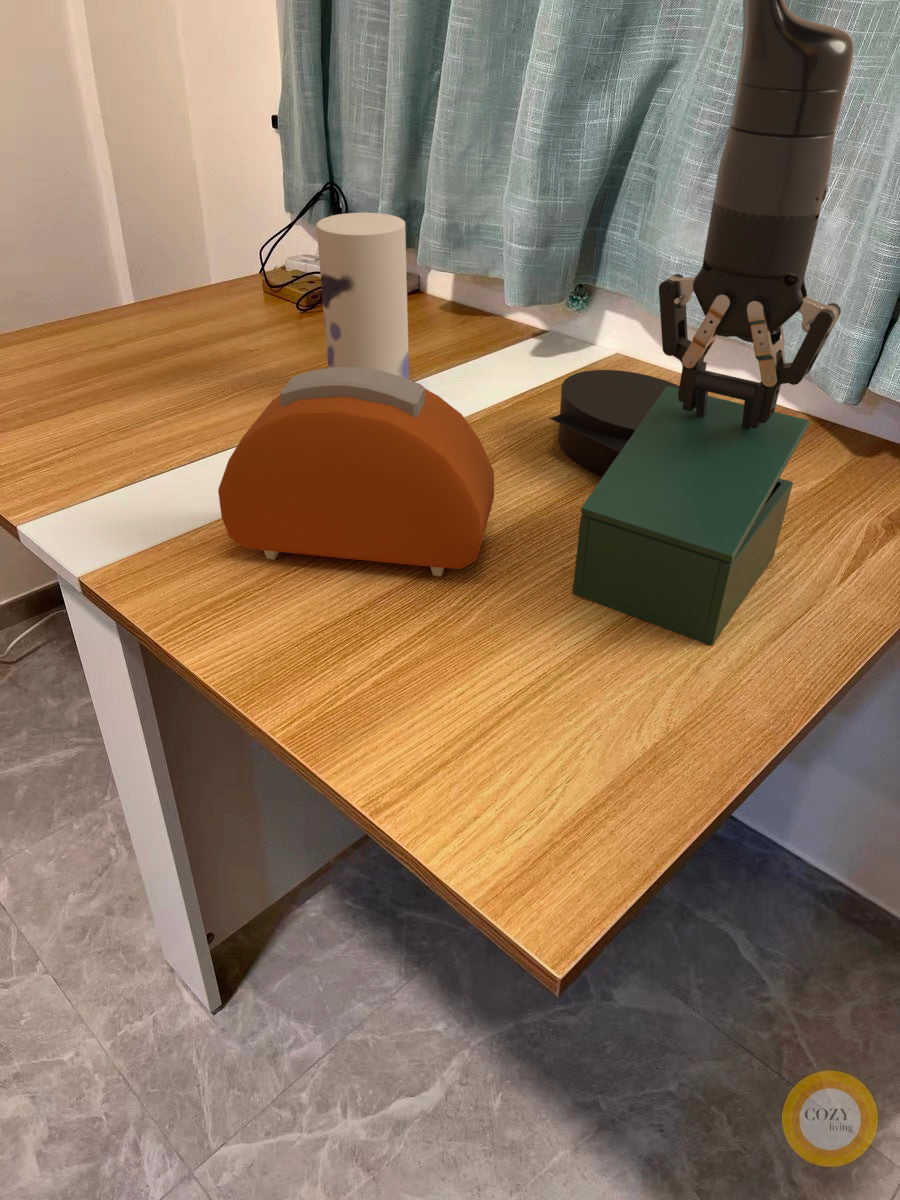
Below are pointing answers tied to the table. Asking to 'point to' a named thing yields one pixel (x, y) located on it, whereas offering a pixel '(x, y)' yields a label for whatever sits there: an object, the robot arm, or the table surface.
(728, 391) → the lid
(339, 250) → the container
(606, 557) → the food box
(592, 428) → the waffle maker
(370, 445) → the orange toaster
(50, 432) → the table surface
